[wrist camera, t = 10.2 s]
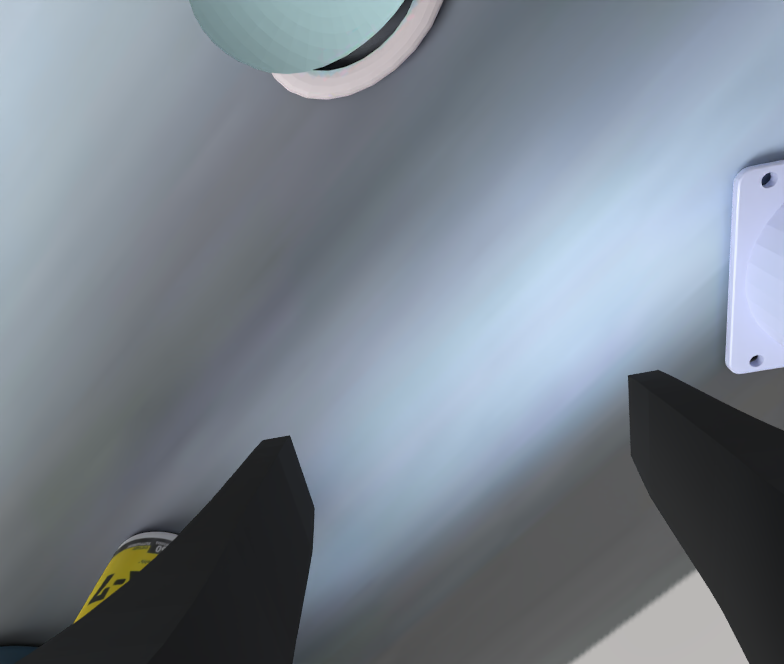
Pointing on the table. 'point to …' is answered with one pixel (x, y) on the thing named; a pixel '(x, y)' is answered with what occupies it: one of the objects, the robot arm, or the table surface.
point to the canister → (14, 653)
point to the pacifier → (315, 39)
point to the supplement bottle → (127, 565)
